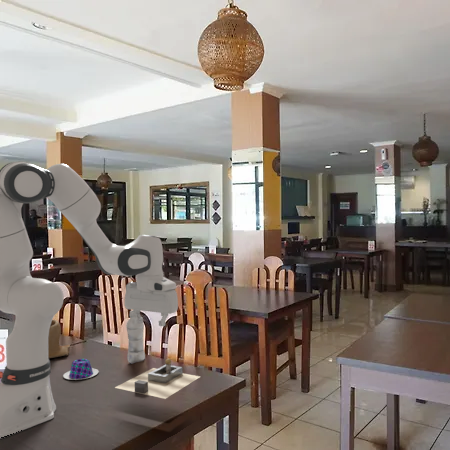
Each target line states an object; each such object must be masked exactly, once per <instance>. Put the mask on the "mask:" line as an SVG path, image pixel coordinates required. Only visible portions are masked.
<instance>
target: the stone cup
mask: <svg viewBox="0 0 450 450" xmlns="http://www.w3.org/2000/svg"><path fill="white" fill-rule="evenodd" d="M61 331H62V329H61V323H60V322H59V321H58V320H56V319H52V322H51V325H50V329H49V335H48V358H49V359H53V358H59V357H64V356H68V355H69V354H70V351H71V344H65V345H60V340H61Z"/></svg>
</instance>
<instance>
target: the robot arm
mask: <svg viewBox="0 0 450 450" xmlns="http://www.w3.org/2000/svg"><path fill="white" fill-rule="evenodd" d="M43 199H48V200H49V201H51V202H52V203H53V204H54V206H55V207H56V208H57V209H58V211H59V212H60V213H61V214H62V215H63V216H64V217H65V219H66V220H68V222H69V223H70V224H71V225H72V227H74V229H75V230H76V231H77V233H78V234H79V236H80V237H81V239H82V240H83V241H84V243H85V244H86V245H87V246H88V248H89V249H90V250H91V251H92V253H93V255H94V257H95V260H96V264H97V267H98V268H99V270H100V271H101V272H103V273H104V274H106V275H113V276H116V275H117V276H123V277H133V276H136V282H133V281H129V282H128V283H127V284H126V285H125V294H124V295H125V296H124V307H125V309H127V310H131V311H132V310H133V313H134V315H135V317H136V322H137V323H144V317H142V316H141V312H151V313H159V314H160V316H161V319H160V320H158V326H159V327H165V326H166V320H167V318H168V316H169V314H170V315H172V314H175V313H176V312H177V311H178V310H179V300H178V299H179V298H178V293H177V291H176V290H175V289H176V288H177V283H176V282H175V281H172V280H171V279H168V278H167V277H164V271H163V263H164V254H163V253H164V251H163V250H164V249H163V248H164V247H163V245H162V240H161V238H160V237H158V236H155V235H151V234H150V235H148V234H140V235H138V236H137V238H135V239H134V240H133V241H131V242H130V243H127V244H125V245H117V244H115V243H113V242H111V241H110V240H109V238H108V237H107V236H106V234H105V233H104V232H103V230H102V229H101V228H100V226H99V224H98V223H97V219H98V217H99V215H100V213H101V209H102V206H101V205H102V204H101V202H100V200H99V198H98V196H97V194H96V193H95V192H94V191H93V189H92V188H91V187H90V186H89V185H88V183H87V182H86V181H85V180H84V178H82V176H80V175H79V174H78V173H77V172H76V171H75V170H74V169H73V168H72V167H70V166H69V165H67V164H65V163H57V164H56V163H55V164H53V165H51V166H49V167H48V168H47V169H45V168H43V167H40V166H37V165H35V164H32V163H29V162H27V161H21V160H20V161H13V162H8V163H6V164H5V165H3V166H2V167H1V168H0V311H1V312H2V313H5V314H8V315H9V314H10V315H13V316H15V318H14V319H15V320H14V325H13V329H12V331H11V333H10V334H9V335H8V336H7V337H6V340H5V349H6V350H5V355H6V356H5V360H6V366H5V367H4V369H3V371H0V439H2V438H1V437H4V436H7V435H9V436H11V435H10V434H12V435H14V434H17V433H19V432H22V431H24V430H27V429H30V428H32V427H34V426H37V425H40V424H42V423H45V422H48V421H50V420H52V419H54V418H55V412H56V410H57V405H56V403H55V400H54V397H53V396H54V395H53V392H52V385H51V379H50V375H51V371H52V370H51V360H50V358H48V335H49V329H50V325H51V322H52V320H54V318H55V316H56V315H57V314H58V313H59V311H60V310H61V308H62V307H63V303H64V300H65V299H64V291H63V290H62V288H61V287H60V285H59V284H57V283H54V282H53V281H50V280H48V279H45V278H39V277H38V278H37V277H32V275H31V271H30V261H31V259H32V258H33V256H34V251H33V247H32V243H31V240H30V238H29V235H28V231H27V228H26V226H25V222H24V220H23V218H22V216H23V215H22V207H23V205H24V204H33V203H36V202H39V201H41V200H43ZM139 312H140V313H139ZM21 430H22V431H21ZM18 431H19V432H18ZM16 432H17V433H16ZM13 433H14V434H13ZM7 437H8V436H7ZM4 438H5V437H4Z"/></svg>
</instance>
